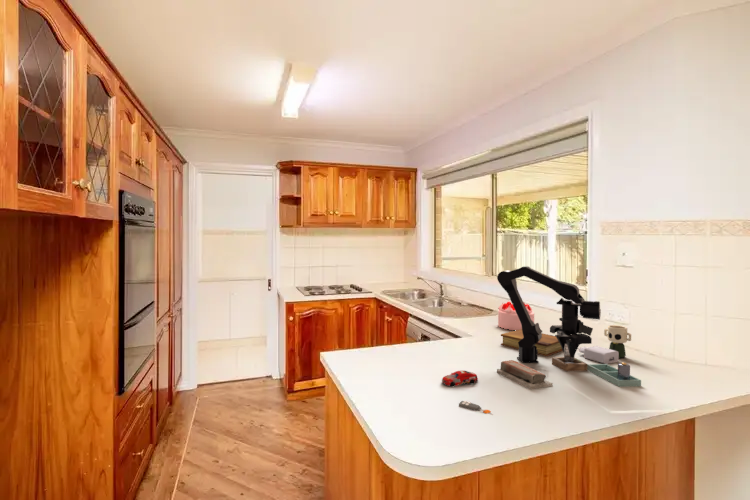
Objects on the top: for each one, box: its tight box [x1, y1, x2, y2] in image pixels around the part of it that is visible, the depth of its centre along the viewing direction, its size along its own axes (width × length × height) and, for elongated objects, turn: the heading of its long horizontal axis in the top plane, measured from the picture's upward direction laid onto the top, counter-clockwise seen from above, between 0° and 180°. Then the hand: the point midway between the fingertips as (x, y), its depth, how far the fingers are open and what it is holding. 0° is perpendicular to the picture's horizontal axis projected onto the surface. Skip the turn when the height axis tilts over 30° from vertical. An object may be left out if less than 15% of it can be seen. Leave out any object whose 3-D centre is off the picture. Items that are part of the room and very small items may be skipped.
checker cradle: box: [551, 356, 588, 372], centre depth 147 cm, size 9×9×3 cm
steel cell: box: [563, 343, 575, 361], centre depth 147 cm, size 4×4×7 cm
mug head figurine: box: [603, 324, 632, 358], centre depth 163 cm, size 11×7×13 cm, turn 31°
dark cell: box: [617, 362, 631, 380], centre depth 131 cm, size 4×4×7 cm
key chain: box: [458, 400, 494, 416], centre depth 110 cm, size 13×4×2 cm, turn 53°
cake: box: [497, 301, 535, 331], centre depth 218 cm, size 20×20×14 cm
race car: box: [441, 370, 479, 388], centre depth 131 cm, size 13×5×4 cm, turn 107°
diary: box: [500, 329, 563, 357], centre depth 177 cm, size 23×19×6 cm
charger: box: [577, 345, 620, 365], centre depth 161 cm, size 5×9×15 cm
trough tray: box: [586, 363, 642, 388], centre depth 136 cm, size 8×17×2 cm, turn 5°
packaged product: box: [496, 359, 554, 390], centre depth 136 cm, size 18×5×10 cm
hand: (569, 355), depth 147 cm, fingers closed on steel cell, 4 cm apart
